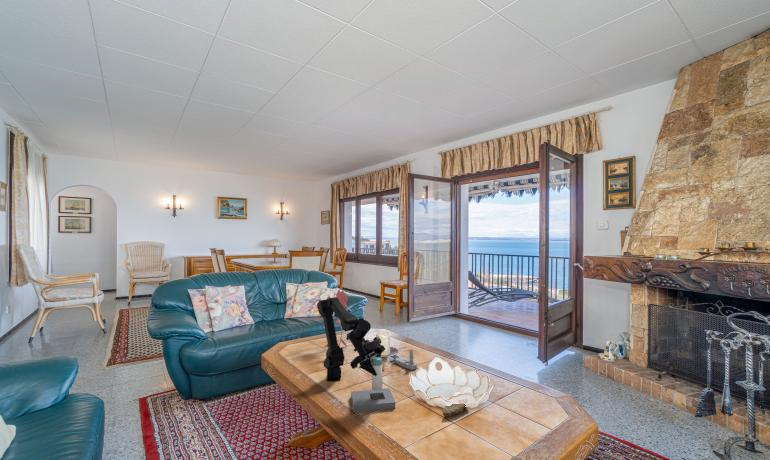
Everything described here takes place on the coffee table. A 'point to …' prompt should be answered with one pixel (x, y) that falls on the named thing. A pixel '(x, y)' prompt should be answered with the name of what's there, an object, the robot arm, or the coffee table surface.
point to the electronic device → (407, 362)
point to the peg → (378, 378)
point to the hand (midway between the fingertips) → (379, 373)
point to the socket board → (364, 402)
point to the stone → (453, 410)
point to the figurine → (343, 301)
